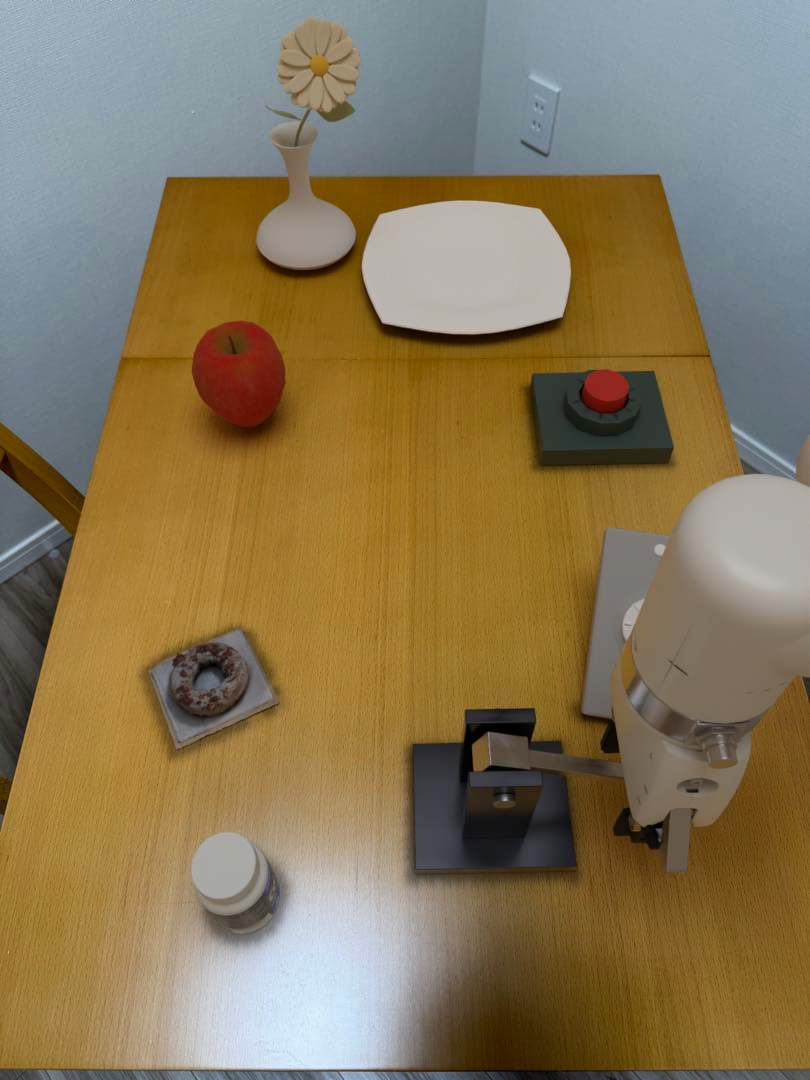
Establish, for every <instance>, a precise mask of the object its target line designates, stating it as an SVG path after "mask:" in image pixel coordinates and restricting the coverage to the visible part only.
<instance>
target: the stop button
mask: <svg viewBox="0 0 810 1080" xmlns="http://www.w3.org/2000/svg"><path fill="white" fill-rule="evenodd" d="M597 370H598V371H595V372H593V373H591V374H589V375H588V376H587V378H586V380H585V383H584V388H583V392H582V400H583V402H584V404H585V405H586V406H587V407H588V408H589V409H590V410H593V411H595V412H598V413H601V414H610V413H615V412H617V411H619V410H620V409H621V408H622V407H623V406H624V404H625V400H626V397H627V393H628V389H629V386H628V382H627V381H626V379H625V378H624V377H623V376H622V375H620V374H619V373H617V372H618V371H614V370H611V369H608V370H607V369H597ZM610 370H611V371H610Z"/></svg>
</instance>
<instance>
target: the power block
mask: <svg viewBox="0 0 810 1080" xmlns="http://www.w3.org/2000/svg"><path fill="white" fill-rule="evenodd" d="M598 370H599V369H588V370H585V371H581V372H580V371H579V372H533V373H532V374H531V380H530V385H529V392H530V400H531V406H532V415H533V421H534V422H533V423H534V429H535V436H536V443H537V451H538V456H539V465H540V466H580V465H581V466H583V465H584V466H585V465H625V464H626V465H630V464H632V465H633V464H668V463H670V460H671V457H672V455H673V452H674V449H675V445H674V442H673V438H672V434H671V430H670V425H669V422H668V419H667V415H666V411H665V407H664V402H663V400H662V394H661V391H660V388H659V383H658V379H657V376H656V372H655V370H628V371H627V370H625V371H624V370H623V371H616V372H617V373H619V374H620V375H622V376H623V377H624V378H625V379H626V381H627V382H628V386H629V389H628V393H627V397H626V400H625V404H624V406H623V407H622V408H621V409H620V410H619V411H617V412H615V413H610V414H601V413H598V412H595V411H593V410H590V409H589V408H588V407H587V406H586V405H585V404H584V402H583V400H582V392H583V388H584V383H585V380H586V378H587V376H588V375H589V374H591V373H593V372H595V371H598ZM606 370H610V371H612V370H611V369H606Z"/></svg>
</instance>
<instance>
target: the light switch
mask: <svg viewBox="0 0 810 1080" xmlns="http://www.w3.org/2000/svg"><path fill="white" fill-rule="evenodd" d="M670 535H671V534H670ZM670 535H668V534H662V533H656V532H648V531H640V530H632V529H626V528H618V527H610V526H609V527H606V528H605V529H604V530H603V534H602V544H601V550H600V558H599V566H598V573H597V582H596V588H595V595H594V597H595V598H594V604H593V612H592V620H591V628H590V635H589V641H588V651H587V658H586V666H585V673H584V681H583V687H582V688H583V689H582V695H581V704H580V712H581V713H582V714H583V715H584V716H590V717H597V718H603V719H609V720H612V714H611V707H612V698H611V675H612V671H613V668H614V665H615V663H616V660H617V658H618V656H619V653H620V651H621V650H622V648H623V643H624V642H626V641H627V639H628V637H629V636H630V634H631V632H632V629H633V627H634V624H635V622H636V619H637V617H638V614H639V612H640V609H641V607H642V604H643V602H644V600H645V597H646V595H647V592H648V590H649V587H650V585H651V582H652V580H653V577H654V575H655V572H656V570H657V567H658V565H659V563H660V560H661V558H662V555H663V553H664V550H665V548H666V545H667V543H668V540H669V538H670Z"/></svg>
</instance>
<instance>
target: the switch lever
mask: <svg viewBox="0 0 810 1080" xmlns="http://www.w3.org/2000/svg"><path fill="white" fill-rule="evenodd" d="M472 753H473V769H474V771H519V770H542V773H543V774H551V775H559V776H566V778H568V777H569V778H574V779H576V778H577V779H584V780H591V781H599V782H606V783H608V782H609V783H616V784H621V785H622V784H623V785H624V784H625V779H624V773H623V768H622V762H621V761H615V760H614V761H613V760H606V759H599V758H592V757H584V756H578V755H577V756H576V755H571V754H570V755H569V754H564V753H563V754H555V753H548V752H541V751H533V750H529V747H528V737H526V736H519V735H511V734H504V733H497V732H490V731H488V732H486V733H485V734H484V735H483V736H482V737H480V738H479V739H478V740H477V741H476V742H475V743H473V744H472Z"/></svg>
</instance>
